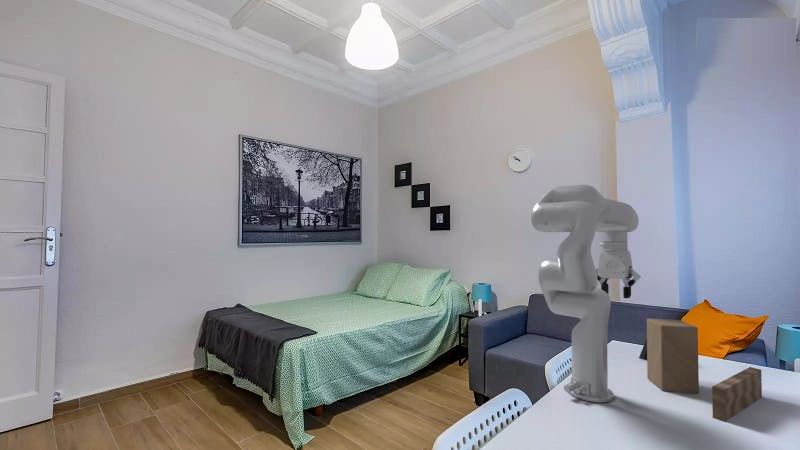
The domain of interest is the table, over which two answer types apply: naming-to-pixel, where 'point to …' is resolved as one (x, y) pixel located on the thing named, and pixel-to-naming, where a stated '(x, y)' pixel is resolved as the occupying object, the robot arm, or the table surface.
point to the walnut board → (736, 393)
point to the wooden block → (672, 355)
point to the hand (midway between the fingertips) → (615, 296)
